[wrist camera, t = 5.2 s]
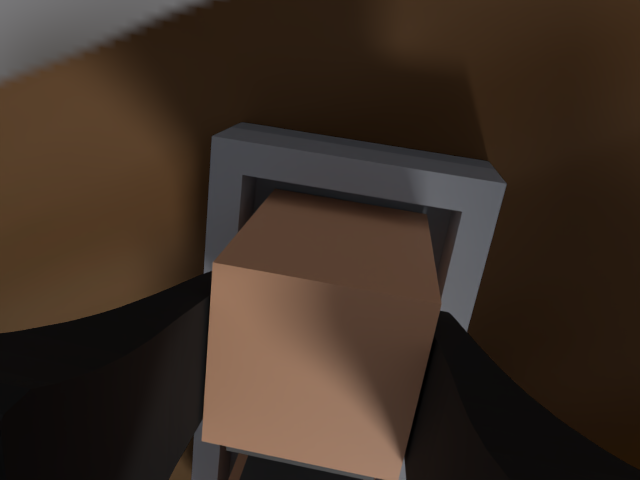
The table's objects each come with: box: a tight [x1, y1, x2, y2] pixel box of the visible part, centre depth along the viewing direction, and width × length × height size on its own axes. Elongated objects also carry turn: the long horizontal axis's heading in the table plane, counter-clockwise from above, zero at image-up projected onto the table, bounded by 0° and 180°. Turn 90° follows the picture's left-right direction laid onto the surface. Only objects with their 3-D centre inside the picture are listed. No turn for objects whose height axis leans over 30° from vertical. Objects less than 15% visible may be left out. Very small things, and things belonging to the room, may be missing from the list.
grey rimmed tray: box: [191, 122, 507, 480], centre depth 14 cm, size 14×7×6 cm, turn 172°
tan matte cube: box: [202, 189, 442, 480], centre depth 12 cm, size 5×4×5 cm
